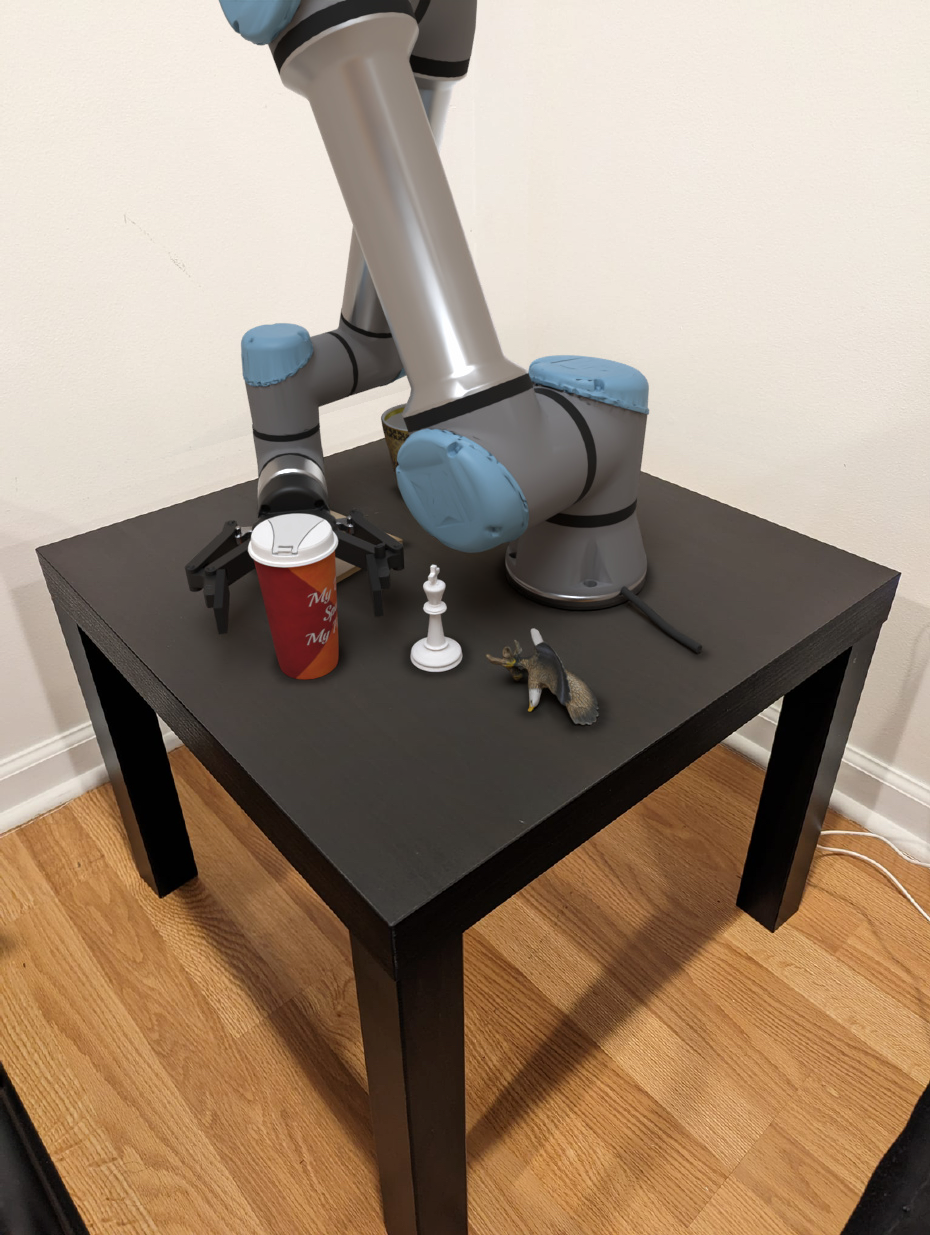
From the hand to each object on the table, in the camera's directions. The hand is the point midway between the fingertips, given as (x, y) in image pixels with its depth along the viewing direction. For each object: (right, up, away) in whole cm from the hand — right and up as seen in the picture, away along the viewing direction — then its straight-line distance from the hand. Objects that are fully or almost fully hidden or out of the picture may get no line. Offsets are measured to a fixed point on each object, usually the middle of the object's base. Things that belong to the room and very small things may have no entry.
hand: (300, 612), depth 76 cm
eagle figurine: (+22, -8, +1) cm, 23 cm away
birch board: (-3, +8, +25) cm, 26 cm away
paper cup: (0, -5, +7) cm, 8 cm away
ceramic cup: (+10, +17, +38) cm, 43 cm away
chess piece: (+12, -4, +7) cm, 14 cm away
